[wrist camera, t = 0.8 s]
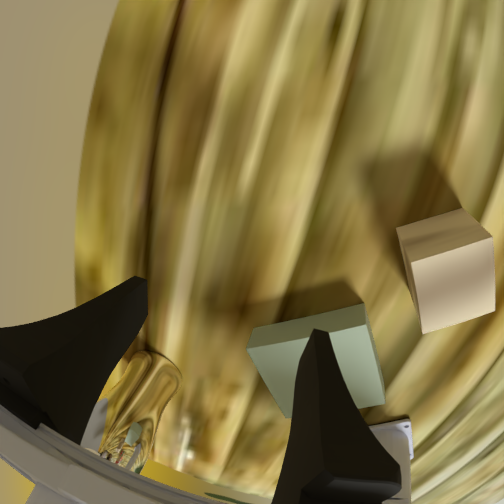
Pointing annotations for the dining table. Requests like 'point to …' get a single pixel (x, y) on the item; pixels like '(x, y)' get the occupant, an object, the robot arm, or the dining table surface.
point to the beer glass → (132, 411)
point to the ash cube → (448, 268)
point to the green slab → (345, 348)
